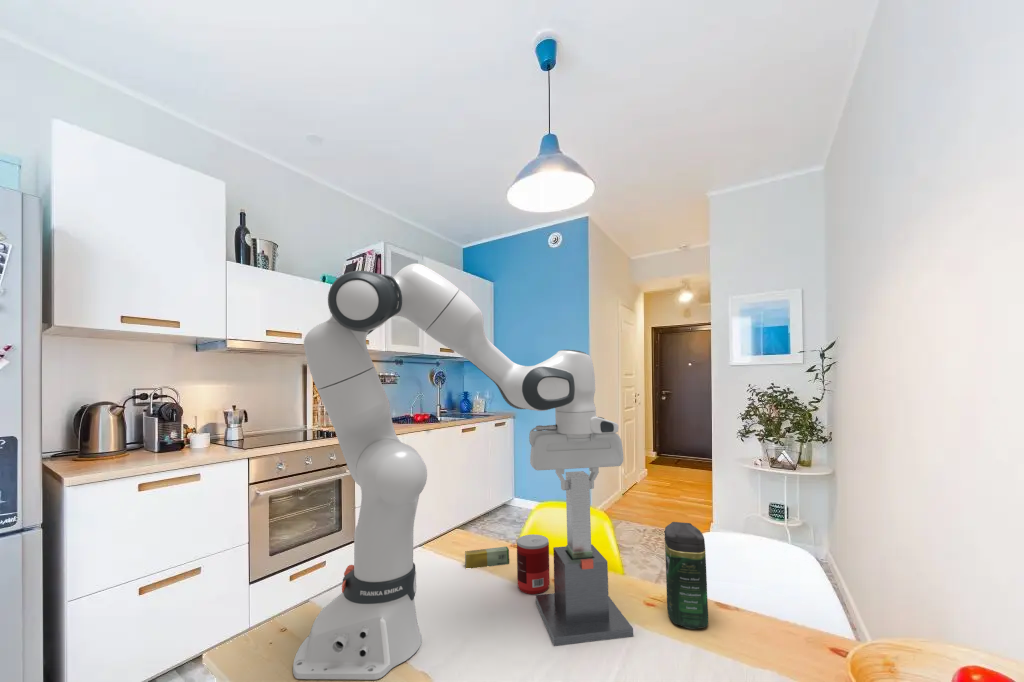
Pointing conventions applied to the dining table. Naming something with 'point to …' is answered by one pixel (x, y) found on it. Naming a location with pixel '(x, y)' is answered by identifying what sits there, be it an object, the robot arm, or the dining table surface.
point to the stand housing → (581, 602)
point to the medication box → (487, 557)
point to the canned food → (533, 564)
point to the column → (578, 516)
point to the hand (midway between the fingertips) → (577, 488)
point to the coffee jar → (686, 575)
